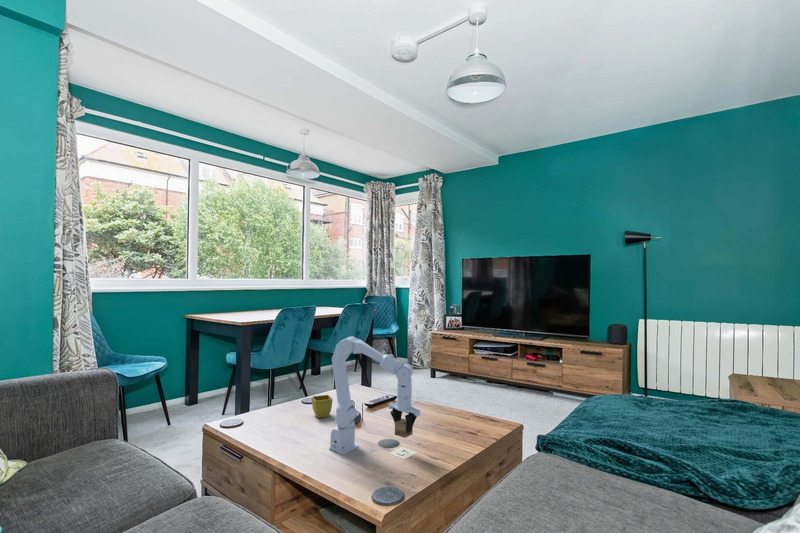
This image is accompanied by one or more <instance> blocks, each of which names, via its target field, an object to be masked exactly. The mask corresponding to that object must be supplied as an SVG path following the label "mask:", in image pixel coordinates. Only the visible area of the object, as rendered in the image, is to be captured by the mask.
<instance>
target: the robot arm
mask: <svg viewBox="0 0 800 533" xmlns="http://www.w3.org/2000/svg"><path fill="white" fill-rule="evenodd" d="M351 354H354V355H355V354H363V355H365V356H367V357H368V358H370V359H373V360H374V361H376V362H378V363H379V366H380V367H381V368H383V369H384V370H386V371H387V372H389V373H390V374H392V375H395V377H396V379H397V384H396V402H390V403H388V409H389V410H390V409H392V410H391V411H390V415H391V417H392V420H393V423H394V424H395V421H398V420H400V419H402V415H403V413H406V414H405V415H404V419H406V423H407V433H410V432H412V428H413V429H414V427H413V426H414V423H415V421H416V419H417V418H418V417H420V416H421V409H417V408H415V407H414V406H413V405H412V393H413V392H412V390H413V389H412V388H413V387H412V385H413V384H412V381H413V380H412V376H413V373H414V370H413V366H412V365H410V364H409V363H407V362H405V361H402V360H399V359H397V358H396V357H395V355H393V353H391V354H388V353H386V354H382V353H381V352H380V351H378V350H377V349H375V348H374V347H372V346H370V345H369V344H368V343H366V342H365V341H363V340H362V339H359V338H357V337H355V336H353V335H352V336H351V335H350V336H348V337H346V338H343V339H341V340H340V341H339V342H338V343H337V344H336V345H335V349H334V352H333V355H332V356H331V363H332V364H331V365H332V370H333V378H334V385H335V386H334V387H335V392H336V399H337V405H336V408H335V414H336V415H335V417H334V421H335V424H336V426H335V428H334V429H333V428H332V430H331V432H330V447H329V448H328V449H329V450H331V451H333V452H335V453H339V454H340V455H344V454H347V453H349V452H350V451H351V452H352V451H353V450H355V449H357V448H359V447H360V445H359V444H357V443H355V439H356V438H355V437H356V423H355V419H356V417H357V415H358V412H357V409H356V407H355V405H354V401H353V400H352V399H351V392H350V386H349V379H348V378H349V377H348V373H347V366H346V365H347V364H346V361H347V359H348V358H349V357H350V355H351Z"/></svg>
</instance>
